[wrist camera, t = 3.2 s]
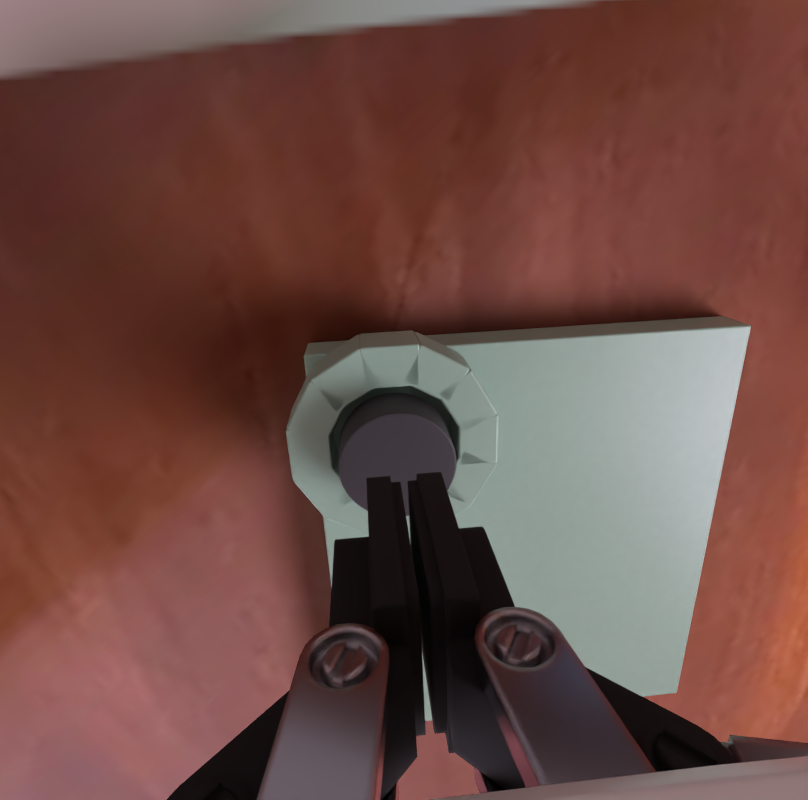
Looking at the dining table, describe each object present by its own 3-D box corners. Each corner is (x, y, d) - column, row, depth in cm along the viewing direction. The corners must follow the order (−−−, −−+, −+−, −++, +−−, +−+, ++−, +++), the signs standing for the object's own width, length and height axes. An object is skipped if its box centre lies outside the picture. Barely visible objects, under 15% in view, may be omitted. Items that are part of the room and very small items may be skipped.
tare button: (335, 395, 15) (332, 417, 13) (447, 387, 15) (456, 408, 14) (344, 493, 16) (343, 523, 15) (448, 484, 16) (457, 513, 15)
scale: (287, 326, 17) (274, 353, 14) (726, 299, 18) (796, 319, 15) (335, 701, 23) (333, 771, 20) (659, 665, 24) (699, 728, 21)
